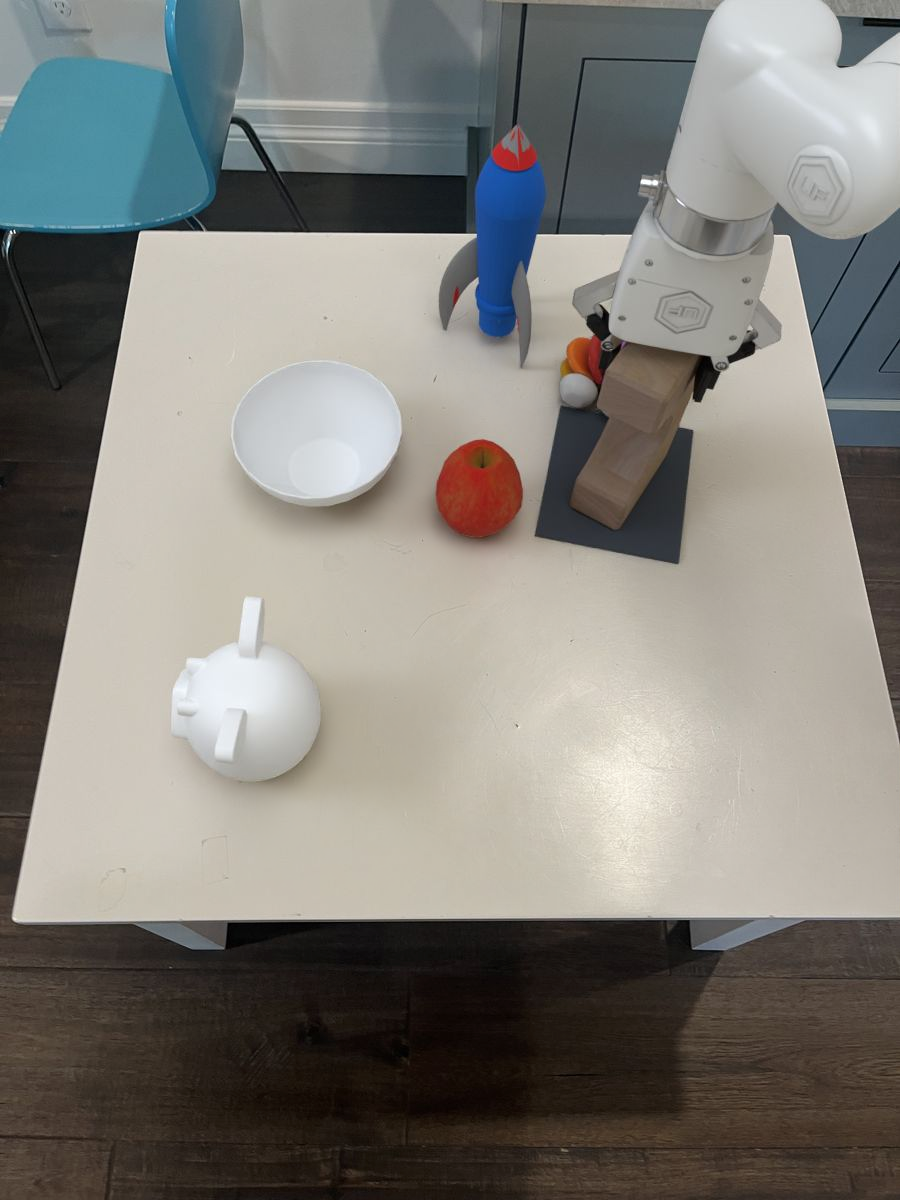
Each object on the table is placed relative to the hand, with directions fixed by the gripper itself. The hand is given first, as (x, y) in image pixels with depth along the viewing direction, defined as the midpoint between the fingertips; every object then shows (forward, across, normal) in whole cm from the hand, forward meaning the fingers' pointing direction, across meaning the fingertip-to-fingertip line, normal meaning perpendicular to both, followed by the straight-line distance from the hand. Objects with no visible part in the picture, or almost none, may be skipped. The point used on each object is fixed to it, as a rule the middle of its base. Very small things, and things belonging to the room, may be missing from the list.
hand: (653, 379), depth 74 cm
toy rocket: (+16, -17, +16) cm, 28 cm away
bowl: (+16, -29, -5) cm, 34 cm away
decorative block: (+15, 0, 0) cm, 15 cm away
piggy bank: (+16, -27, -33) cm, 46 cm away
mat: (+16, 0, 0) cm, 16 cm away
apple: (+16, -13, -7) cm, 22 cm away
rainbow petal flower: (+16, -3, +11) cm, 19 cm away
